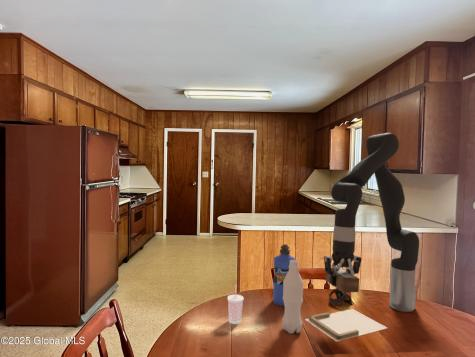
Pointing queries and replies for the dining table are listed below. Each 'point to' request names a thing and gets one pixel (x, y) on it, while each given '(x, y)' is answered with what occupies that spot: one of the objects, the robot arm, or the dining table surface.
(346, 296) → the pottery mug
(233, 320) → the beverage cup
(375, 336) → the dining table surface
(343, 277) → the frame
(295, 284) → the water bottle
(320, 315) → the wall board
